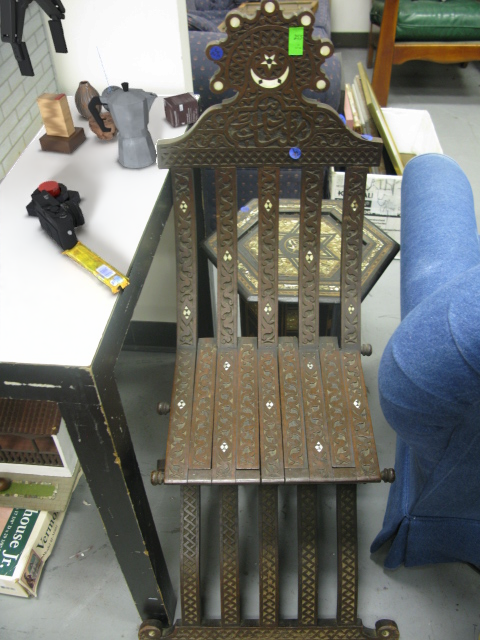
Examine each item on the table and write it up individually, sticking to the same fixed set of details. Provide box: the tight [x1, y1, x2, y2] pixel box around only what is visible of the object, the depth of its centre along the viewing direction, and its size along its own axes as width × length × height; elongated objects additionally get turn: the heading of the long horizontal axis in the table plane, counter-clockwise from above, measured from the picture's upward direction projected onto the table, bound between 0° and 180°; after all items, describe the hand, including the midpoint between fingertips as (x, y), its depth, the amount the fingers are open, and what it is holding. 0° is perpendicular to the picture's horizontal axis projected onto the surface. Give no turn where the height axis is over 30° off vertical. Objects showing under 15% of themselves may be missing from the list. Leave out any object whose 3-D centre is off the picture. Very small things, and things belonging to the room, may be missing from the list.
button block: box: [25, 182, 82, 218], centre depth 117 cm, size 8×8×4 cm
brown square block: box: [38, 126, 87, 155], centre depth 138 cm, size 8×8×3 cm
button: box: [37, 180, 60, 196], centre depth 115 cm, size 4×4×2 cm
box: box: [162, 92, 200, 128], centre depth 145 cm, size 6×6×7 cm
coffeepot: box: [88, 81, 159, 169], centre depth 126 cm, size 15×9×18 cm, turn 99°
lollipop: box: [96, 47, 123, 113], centre depth 142 cm, size 10×20×7 cm
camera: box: [30, 189, 86, 252], centre depth 108 cm, size 14×7×8 cm, turn 39°
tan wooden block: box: [36, 92, 76, 137], centre depth 134 cm, size 6×4×9 cm, turn 74°
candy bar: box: [60, 240, 130, 295], centre depth 101 cm, size 17×4×2 cm, turn 46°
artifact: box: [88, 112, 119, 141], centre depth 139 cm, size 8×8×5 cm
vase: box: [74, 80, 103, 119], centre depth 147 cm, size 7×7×9 cm
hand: (45, 63), depth 119 cm, fingers open, 13 cm apart
